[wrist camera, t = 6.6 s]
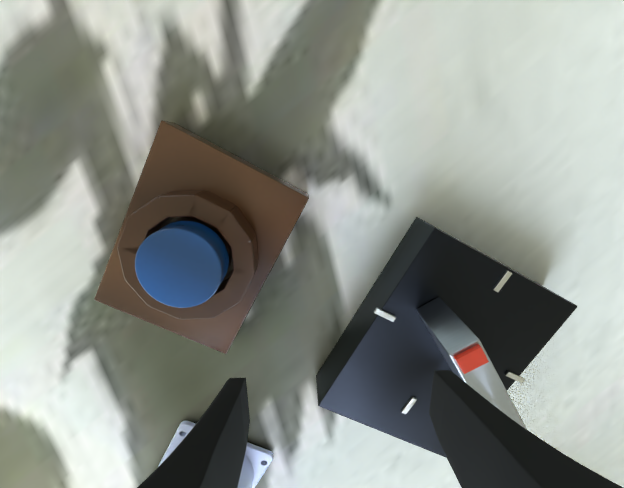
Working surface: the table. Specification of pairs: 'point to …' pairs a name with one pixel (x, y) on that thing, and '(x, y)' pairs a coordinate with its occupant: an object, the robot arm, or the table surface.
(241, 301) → the button block
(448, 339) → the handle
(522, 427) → the robot arm
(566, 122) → the table surface
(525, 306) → the tap deck
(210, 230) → the button
